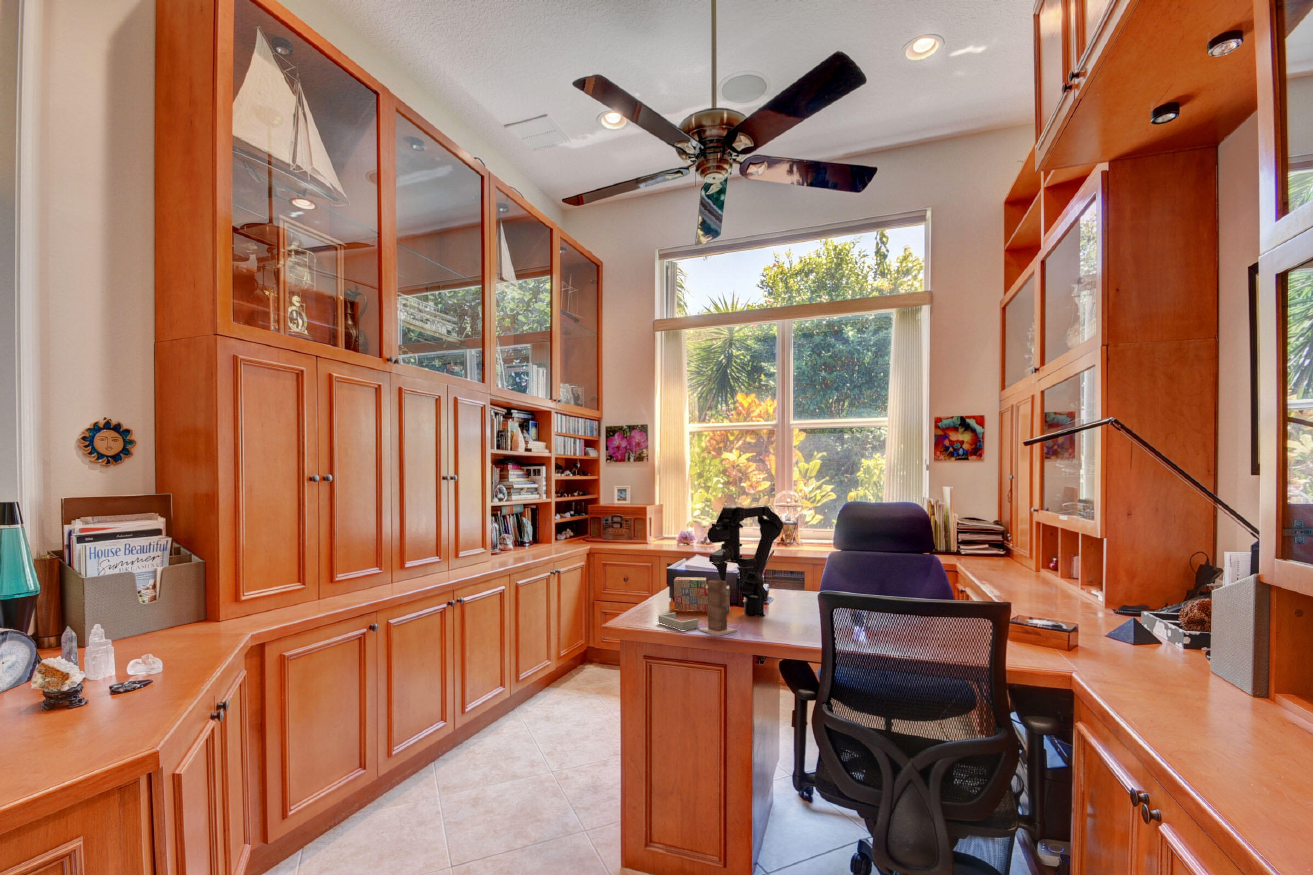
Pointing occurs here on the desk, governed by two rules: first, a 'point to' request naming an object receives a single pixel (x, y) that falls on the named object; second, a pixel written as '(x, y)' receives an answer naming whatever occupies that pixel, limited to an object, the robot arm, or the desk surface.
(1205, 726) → the desk surface
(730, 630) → the grey mat
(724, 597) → the walnut block
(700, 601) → the stack of blocks
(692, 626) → the grey u-shaped bracket
